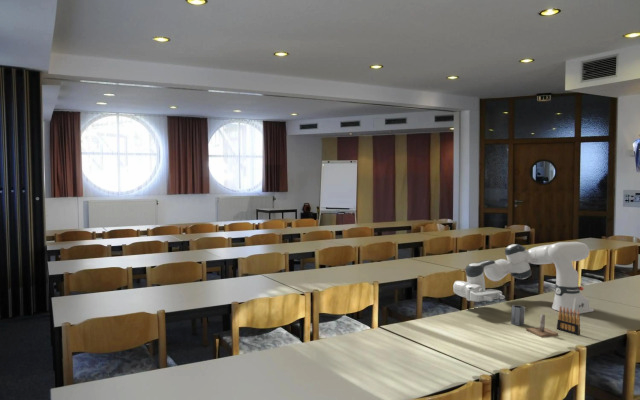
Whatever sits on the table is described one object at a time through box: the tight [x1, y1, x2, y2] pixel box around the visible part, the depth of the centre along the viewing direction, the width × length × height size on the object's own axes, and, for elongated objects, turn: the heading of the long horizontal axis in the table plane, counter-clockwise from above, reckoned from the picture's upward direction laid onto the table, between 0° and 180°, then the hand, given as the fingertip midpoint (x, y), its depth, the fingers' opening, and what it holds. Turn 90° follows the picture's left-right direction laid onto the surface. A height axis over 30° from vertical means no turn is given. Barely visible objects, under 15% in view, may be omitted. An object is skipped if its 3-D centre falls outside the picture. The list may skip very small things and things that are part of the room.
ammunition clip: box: [556, 306, 581, 336], centre depth 244 cm, size 11×2×12 cm, turn 36°
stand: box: [525, 313, 559, 338], centre depth 242 cm, size 10×10×9 cm
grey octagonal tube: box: [510, 304, 526, 327], centre depth 256 cm, size 6×6×9 cm
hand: (498, 298), depth 266 cm, fingers open, 8 cm apart
